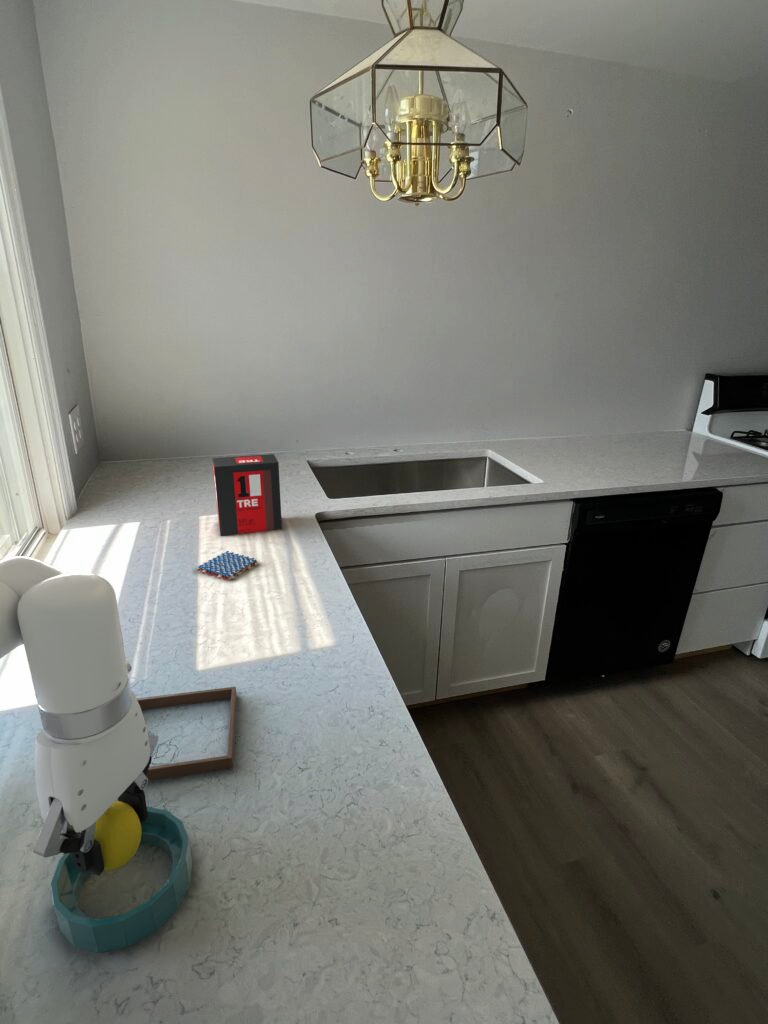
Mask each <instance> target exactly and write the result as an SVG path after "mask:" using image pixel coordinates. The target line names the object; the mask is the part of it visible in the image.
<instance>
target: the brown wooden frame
mask: <svg viewBox="0 0 768 1024" xmlns="http://www.w3.org/2000/svg"><path fill="white" fill-rule="evenodd" d="M237 697H238V695H237V687H236V686H228V687H221V688H213V689H204V690H196V691H188V692H181V693H180V692H179V693H171V694H162V695H154V696H144V697H136V699H137V701H138V703H139V705H140V708H141V711H144V710H153V709H154V710H155V709H161V708H169V707H177V706H185V705H194V704H201V703H202V704H203V703H211V702H219V701H226V700H230V711H229V713H230V714H229V727H228V741H227V742H228V743H227V745H228V746H227V755H222V756H216V757H215V756H214V757H208V758H201V759H194V760H193V759H192V760H186V761H180V762H173V763H165V764H158V765H152V766H151V765H150V766H149V769H148V771H147V774H146V777H147V778H148V782H151V781H158V780H164V779H171V778H173V779H174V778H178V777H184V776H185V777H186V776H191V775H199V774H205V773H212V772H213V773H214V772H219V771H226V770H232V769H234V761H235V760H234V758H235V741H236V740H235V739H236V736H235V735H236V719H237V718H236V717H237V701H238V700H237Z"/></svg>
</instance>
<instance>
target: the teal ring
mask: <svg viewBox="0 0 768 1024" xmlns="http://www.w3.org/2000/svg"><path fill="white" fill-rule="evenodd" d="M147 812H148V818H147V819H146V820H145V822H140V824H141V830H142V833H141V841H140V845H139V846H144V845H146V846H152V847H158V848H160V849H161V850H163V851H164V852H165V853H166V854H168V855H169V856H170V857H171V860H172V866H171V871H170V875H169V876H168V878H167V880H166V882H165V884H164V885H162V887H161V888H160V889H159V890H158V891H157V892H156V893H155V894H154V895H153V896H151V898H149V899H148V901H145V902H144V903H142V904H140V905H139V906H137V907H136V906H135V908H133V909H131V910H129V911H127V912H125V913H123V914H119V915H115V916H109V917H104V918H100V919H97V918H92V917H88V916H87V915H86V914H85V913H84V912H83V911H82V910H81V909H80V908H79V903H78V902H79V900H80V895H81V893H82V889H83V887H84V885H85V883H86V882H87V880H88V879H89V877H90V875H91V874H92V873H91V872H89V871H87V872H86V873H83V872H80V871H78V870H77V869H76V868H75V867H74V864H73V860H72V856H71V853H67V854H64V853H63V854H62V856H61V857H60V859H59V860H58V863H57V865H56V868H55V871H54V873H53V876H52V879H51V882H50V890H51V898H52V905H53V909H54V913H55V916H56V920H57V923H58V926H59V930H60V932H61V934H62V935H63V936H64V937H65V938H66V939H67V940H68V941H69V942H70V943H71V944H72V945H73V946H74V947H75V948H76V949H79V950H80V949H81V950H85V951H89V952H93V953H97V954H98V953H99V954H100V953H101V954H102V953H106V952H111V951H116V950H120V949H126V948H129V947H131V946H133V945H134V944H136V943H138V942H140V941H142V940H143V939H145V938H147V937H148V936H150V935H153V933H155V932H156V931H158V929H160V928H161V927H162V926H163V924H164V923H165V922H167V920H168V919H170V917H171V916H172V915H173V914H175V912H176V911H177V910H178V909H179V907H180V905H181V903H182V901H183V899H184V898H185V895H186V893H187V892H188V890H189V888H190V886H191V879H192V872H193V871H192V870H193V858H192V852H191V845H190V839H189V836H188V833H187V831H186V828H185V826H184V824H183V823H184V822H183V821H182V820H181V819H180V818H178V817H176V816H175V815H174V813H173V814H172V813H171V812H170V811H169V810H167V809H162V808H156V807H152V806H151V807H150V806H147Z"/></svg>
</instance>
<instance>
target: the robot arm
mask: <svg viewBox="0 0 768 1024" xmlns="http://www.w3.org/2000/svg"><path fill="white" fill-rule="evenodd" d="M20 646H24V651H25V653H26V654H25V655H26V660H27V663H28V668H29V672H30V677H31V680H32V685H33V690H34V695H35V698H36V704H37V707H38V708H37V709H38V712H39V716H40V721H41V726H42V730H40V731H39V732H38V733H37V734H36V736H35V743H34V759H33V762H34V763H33V764H34V766H33V767H34V779H35V788H36V789H35V790H36V796H37V797H36V798H37V803H38V808H39V812H40V815H41V818H42V819H43V821H44V822H43V824H42V827H41V828H40V832H39V834H38V837H37V839H36V841H35V844H34V846H33V851H32V852H33V853H34V854H35V855H38V856H40V857H42V858H49V857H54V856H58V855H59V854H63V855H64V854H67V853H71V856H72V860H73V864H74V867H75V868H76V869H77V870H78V871H80V872H83V873H86V872H87V871H89V872H91V874H94V875H97V876H101V875H102V874H103V872H105V871H104V867H105V866H104V861H103V856H102V851H101V846H100V843H99V842H98V841H96V840H94V835H95V826H96V821H97V820H98V819H99V817H100V816H101V815H102V814H103V813H104V812H105V811H106V810H107V809H108V808H109V807H110V806H111V805H112V804H113V803H114V802H115V801H120V802H124V803H127V804H128V805H130V806H131V807H132V808H133V809H134V810H135V812H136V814H137V815H138V817H139V820H140V822H145V820H146V819H147V818H148V812H147V807H148V806H147V800H146V794H145V791H144V790H145V789H146V788H147V786H148V785H149V781H148V778H147V777H146V774H147V771H148V769H149V767H151V763H152V759H153V758H152V755H153V754H154V751H155V750H156V747H157V744H158V742H159V736H158V735H157V734H154V733H150V732H148V729H147V724H146V720H145V716H144V713H143V710H141V708H140V705H139V703H138V701H137V699H136V698H137V697H136V695H135V693H134V692H133V690H132V689H131V685H130V679H129V674H130V672H131V671H132V668H133V667H132V665H131V664H130V662H128V661H127V659H126V658H127V657H126V652H125V645H124V639H123V632H122V627H121V621H120V612H119V606H118V599H117V596H116V591H115V589H114V587H113V585H112V583H110V581H109V580H107V579H105V578H104V577H103V576H100V575H97V574H94V573H88V572H72V573H70V572H67V571H65V570H62V569H60V568H57V567H55V566H53V565H51V564H49V563H47V562H44V561H41V560H39V559H36V558H33V557H29V556H20V555H19V556H11V557H7V558H4V559H1V560H0V660H1V659H2V658H4V657H6V656H7V655H8V654H9V653H11V652H12V651H14V650H15V649H17V648H18V647H20Z"/></svg>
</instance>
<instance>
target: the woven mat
mask: <svg viewBox="0 0 768 1024" xmlns="http://www.w3.org/2000/svg"><path fill="white" fill-rule="evenodd" d="M253 566H258V561H257V559H255V557H250V556H245V555H244V554H241V555H239V553H235V552H230V551H229V550H226V551H224V552H221V553H220V555H216V556H215V557H212V558H211V559H208V560H207V561H206V562H203V563H201V564H199V565H198V566H197V569H196V571H197V572H199V573H201V574H205V575H208V576H213V577H216V578H217V579H222V580H227V581H230V580H231V579H232V580H233V579H235V578H237V577H239V576H240V575H242V574H243V573H244V572H246V571H247V570H251V568H253Z"/></svg>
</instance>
